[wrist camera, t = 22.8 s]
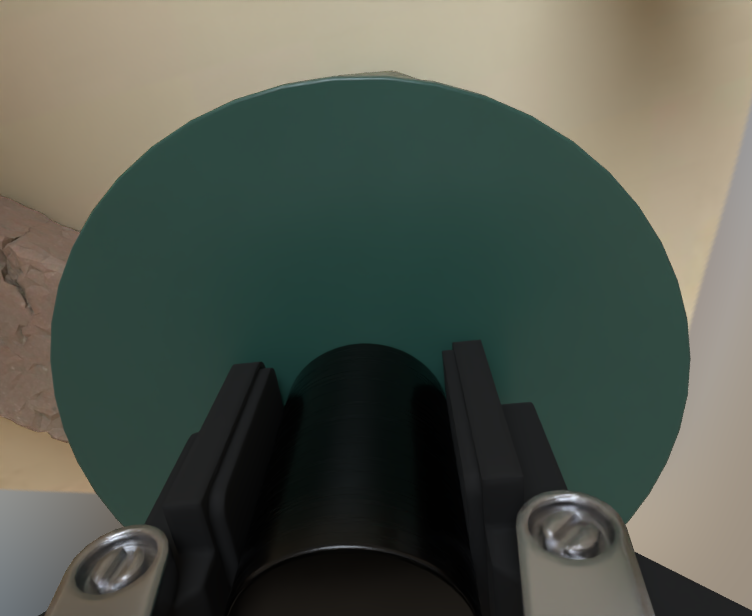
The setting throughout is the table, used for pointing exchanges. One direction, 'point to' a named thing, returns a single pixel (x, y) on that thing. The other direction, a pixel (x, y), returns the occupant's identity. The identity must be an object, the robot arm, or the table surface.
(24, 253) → the brick
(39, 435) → the table surface
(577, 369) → the pot lid
